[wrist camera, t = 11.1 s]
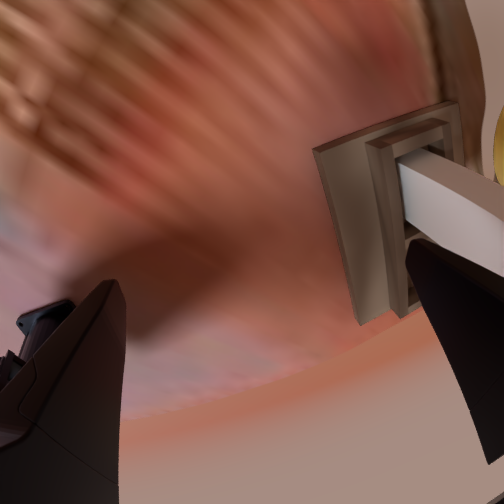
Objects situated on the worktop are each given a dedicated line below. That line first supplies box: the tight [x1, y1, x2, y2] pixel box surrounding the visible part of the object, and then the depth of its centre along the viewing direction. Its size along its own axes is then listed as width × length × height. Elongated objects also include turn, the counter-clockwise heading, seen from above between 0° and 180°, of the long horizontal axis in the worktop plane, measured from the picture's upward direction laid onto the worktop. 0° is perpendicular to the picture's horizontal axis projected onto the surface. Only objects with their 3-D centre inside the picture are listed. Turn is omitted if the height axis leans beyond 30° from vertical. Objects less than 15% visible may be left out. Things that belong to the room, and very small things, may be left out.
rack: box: [312, 101, 465, 326], centre depth 25 cm, size 14×18×3 cm
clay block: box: [394, 148, 504, 277], centre depth 17 cm, size 3×5×14 cm, turn 22°
